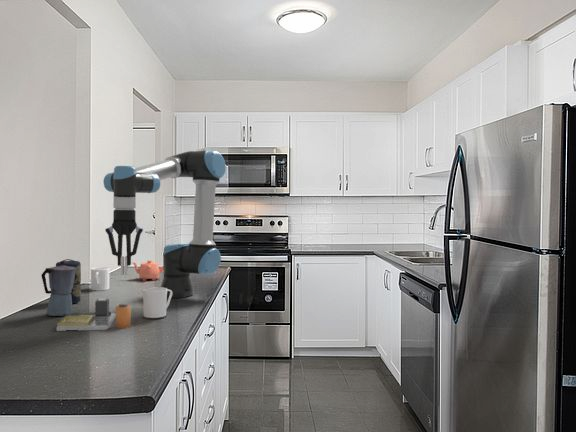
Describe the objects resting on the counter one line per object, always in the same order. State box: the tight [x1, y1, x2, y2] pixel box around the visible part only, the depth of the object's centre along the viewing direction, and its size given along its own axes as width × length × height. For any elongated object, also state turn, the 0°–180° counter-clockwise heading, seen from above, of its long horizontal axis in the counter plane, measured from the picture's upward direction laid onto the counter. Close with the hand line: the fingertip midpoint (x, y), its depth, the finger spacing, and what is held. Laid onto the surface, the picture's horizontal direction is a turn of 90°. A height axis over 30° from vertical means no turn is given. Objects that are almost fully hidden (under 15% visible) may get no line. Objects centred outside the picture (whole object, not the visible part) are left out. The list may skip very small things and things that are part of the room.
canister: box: [55, 258, 82, 304], centre depth 209 cm, size 10×10×18 cm
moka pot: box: [41, 260, 76, 317], centre depth 189 cm, size 10×15×20 cm, turn 161°
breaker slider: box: [94, 298, 110, 316], centre depth 182 cm, size 4×4×6 cm
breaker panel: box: [56, 311, 116, 332], centre depth 177 cm, size 16×17×3 cm
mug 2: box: [142, 286, 172, 320], centre depth 189 cm, size 11×9×10 cm
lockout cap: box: [115, 303, 132, 329], centre depth 175 cm, size 5×5×8 cm
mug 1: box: [90, 266, 110, 292], centre depth 237 cm, size 8×12×10 cm
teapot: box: [131, 260, 163, 282], centre depth 267 cm, size 14×12×10 cm
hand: (124, 274), depth 183 cm, fingers closed
